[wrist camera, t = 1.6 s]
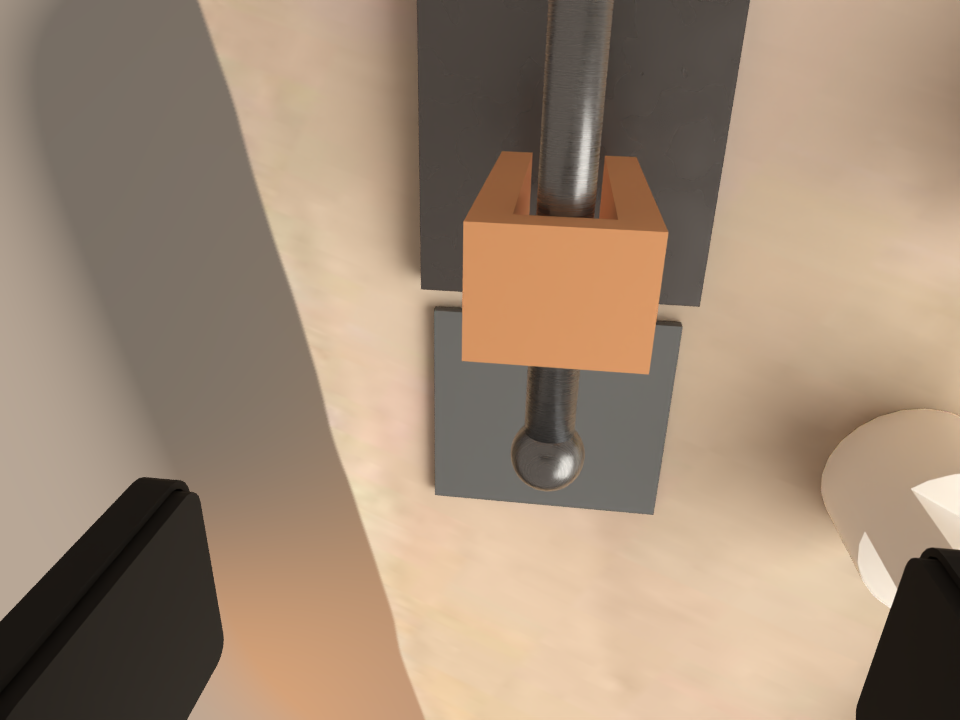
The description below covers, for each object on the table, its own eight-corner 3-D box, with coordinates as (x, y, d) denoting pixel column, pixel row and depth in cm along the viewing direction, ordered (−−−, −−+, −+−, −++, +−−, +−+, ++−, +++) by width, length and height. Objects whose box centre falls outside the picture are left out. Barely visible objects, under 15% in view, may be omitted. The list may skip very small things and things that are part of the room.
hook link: (502, 151, 28) (463, 221, 19) (636, 156, 28) (668, 232, 18) (498, 249, 30) (461, 361, 20) (625, 257, 30) (649, 374, 20)
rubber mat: (436, 306, 39) (433, 310, 39) (680, 322, 38) (682, 326, 37) (436, 489, 44) (435, 494, 44) (652, 508, 43) (653, 514, 42)
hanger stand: (421, -210, 29) (250, -459, 14) (776, -213, 28) (1020, -491, 13) (426, 300, 39) (329, 487, 24) (691, 317, 38) (771, 527, 22)
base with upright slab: (786, 496, 42) (859, 664, 31) (900, 379, 38) (1029, 524, 27) (911, 567, 43) (1024, 753, 32) (1035, 459, 39) (1210, 630, 28)
